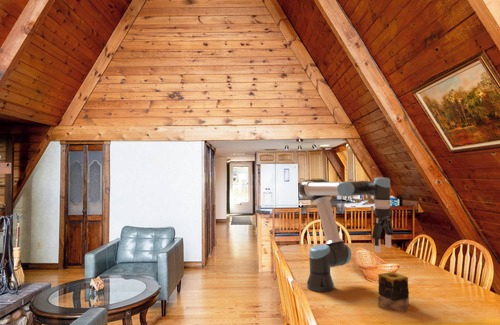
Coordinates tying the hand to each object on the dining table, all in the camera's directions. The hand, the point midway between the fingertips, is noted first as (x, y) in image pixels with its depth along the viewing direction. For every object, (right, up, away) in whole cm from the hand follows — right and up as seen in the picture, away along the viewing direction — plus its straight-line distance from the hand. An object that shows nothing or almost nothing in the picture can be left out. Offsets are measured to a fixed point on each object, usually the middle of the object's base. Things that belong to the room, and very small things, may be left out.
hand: (383, 249), depth 169 cm
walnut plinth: (+3, -26, -7) cm, 27 cm away
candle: (+3, -21, -6) cm, 22 cm away
